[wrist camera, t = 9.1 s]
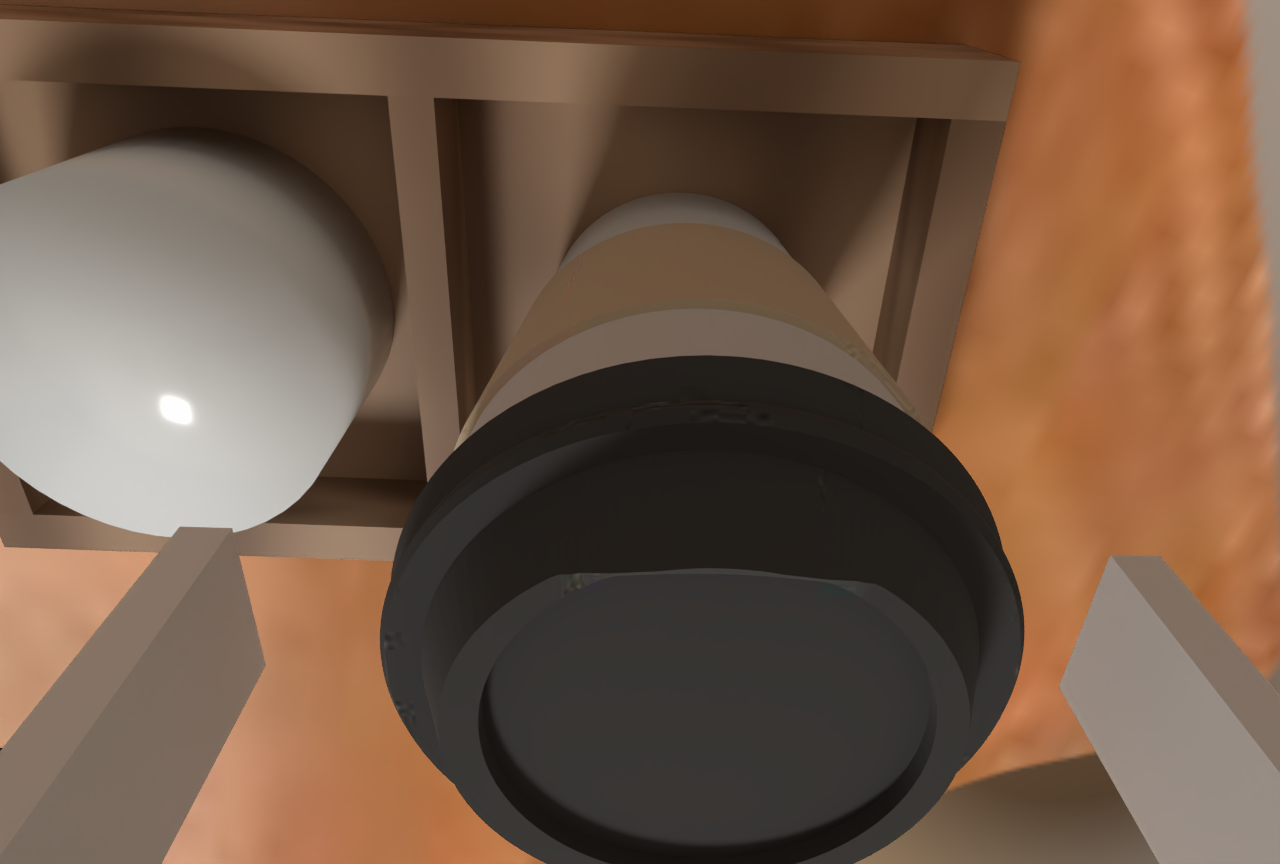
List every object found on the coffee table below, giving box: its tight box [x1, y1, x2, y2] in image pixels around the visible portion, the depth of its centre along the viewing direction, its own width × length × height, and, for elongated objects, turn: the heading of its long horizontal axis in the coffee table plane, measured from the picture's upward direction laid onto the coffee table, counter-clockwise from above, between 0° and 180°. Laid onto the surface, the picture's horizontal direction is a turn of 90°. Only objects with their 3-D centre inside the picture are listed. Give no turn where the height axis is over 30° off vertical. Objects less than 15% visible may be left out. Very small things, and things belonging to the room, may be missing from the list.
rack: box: [0, 5, 1021, 561], centre depth 23 cm, size 26×14×4 cm, turn 88°
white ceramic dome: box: [0, 127, 394, 537], centre depth 21 cm, size 9×9×5 cm
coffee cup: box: [380, 193, 1024, 864], centre depth 17 cm, size 9×9×15 cm
